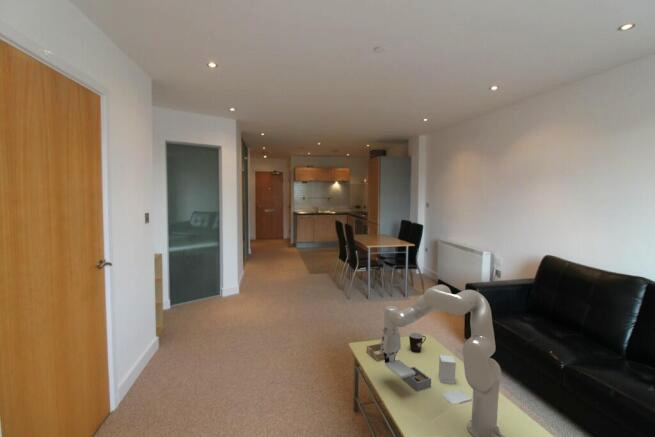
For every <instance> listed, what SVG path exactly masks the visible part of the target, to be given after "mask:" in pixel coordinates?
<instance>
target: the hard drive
mask: <svg viewBox="0 0 655 437" xmlns="http://www.w3.org/2000/svg"><path fill="white" fill-rule="evenodd" d="M440 396H441V397H442V398H444V399H445V400H446V401H447V402H448V403H450V405H456V404H457V405H462V404H466V403H469V402H472V400H473V397H470V396H469V395H468V394H467V393H465V392H464V391H463V390H461V389H455V390H452V391H449V392H448V391H447V392H445V393H441V394H440Z"/></svg>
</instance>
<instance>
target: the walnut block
mask: <svg viewBox="0 0 655 437" xmlns="http://www.w3.org/2000/svg"><path fill="white" fill-rule="evenodd" d="M414 379H415V380H416V381H417V382H419V381H422V380H426V379H425V378H424V377H422V376H420V375H418V376H416V377H414Z"/></svg>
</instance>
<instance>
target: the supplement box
mask: <svg viewBox="0 0 655 437" xmlns="http://www.w3.org/2000/svg"><path fill="white" fill-rule="evenodd" d="M438 360H439V362H438V379H439V382H440V383H441V384H448V385H455V384H456V368H457V367H456V366H457V364H456V362H457V361H456V360H455V358H454V356H453V355H443V354H439V358H438Z"/></svg>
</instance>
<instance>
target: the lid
mask: <svg viewBox="0 0 655 437" xmlns="http://www.w3.org/2000/svg"><path fill="white" fill-rule="evenodd" d="M384 364H385V365H384V366H385V367H387V368H388V369H389V370H390V371H391V372H392V373H394V375H396V376H397V377H398V378H400V379H402V378H405V377H408V376H412V375H415V374H416V372H415V371H413V370H412V369H411V367H409V366H408V365H407V364H405V363H404V361H401V360H400V359H395V361H394V354H393V353H389V362H388V363H385V362H384Z"/></svg>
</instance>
